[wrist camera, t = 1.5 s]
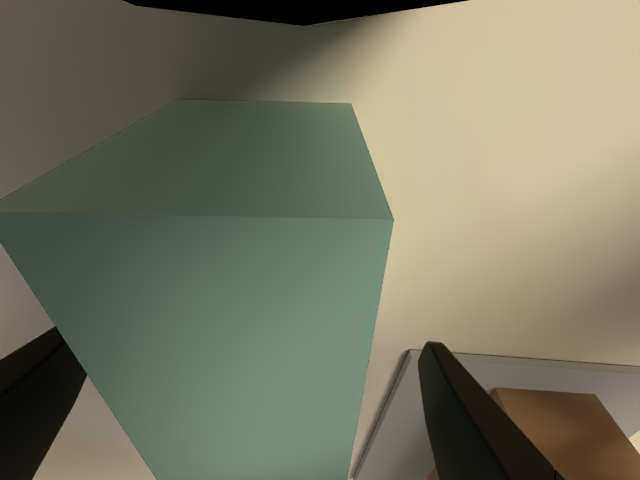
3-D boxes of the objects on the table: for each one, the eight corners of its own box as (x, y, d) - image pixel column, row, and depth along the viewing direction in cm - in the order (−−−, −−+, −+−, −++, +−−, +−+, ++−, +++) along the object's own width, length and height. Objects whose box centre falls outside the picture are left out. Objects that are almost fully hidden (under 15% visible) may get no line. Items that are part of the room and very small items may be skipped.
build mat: (702, 371, 15) (710, 379, 15) (547, 486, 23) (550, 493, 23) (409, 349, 14) (411, 357, 14) (353, 477, 22) (354, 484, 22)
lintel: (178, 97, 8) (-21, 211, 3) (350, 102, 8) (393, 220, 4) (233, 356, 15) (189, 529, 10) (331, 358, 15) (337, 530, 10)
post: (595, 394, 15) (670, 496, 12) (542, 442, 18) (591, 536, 15) (495, 387, 15) (544, 490, 12) (456, 437, 18) (488, 532, 15)
